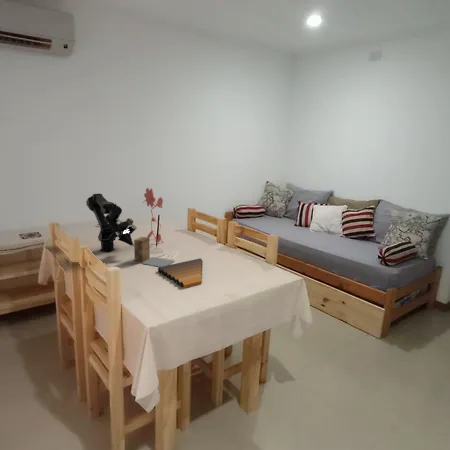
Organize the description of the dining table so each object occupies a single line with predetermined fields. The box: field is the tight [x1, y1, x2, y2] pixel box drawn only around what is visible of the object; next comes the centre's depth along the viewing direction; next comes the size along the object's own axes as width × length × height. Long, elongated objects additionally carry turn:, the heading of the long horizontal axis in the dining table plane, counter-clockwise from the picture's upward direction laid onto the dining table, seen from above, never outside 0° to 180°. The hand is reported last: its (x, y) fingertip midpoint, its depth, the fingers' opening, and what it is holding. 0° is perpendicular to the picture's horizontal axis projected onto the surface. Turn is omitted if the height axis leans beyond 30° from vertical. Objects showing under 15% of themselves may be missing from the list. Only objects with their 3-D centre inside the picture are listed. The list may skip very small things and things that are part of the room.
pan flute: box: [157, 257, 204, 289], centre depth 180 cm, size 25×3×25 cm
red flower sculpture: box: [142, 187, 164, 248], centre depth 225 cm, size 15×26×35 cm, turn 38°
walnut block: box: [133, 236, 151, 263], centre depth 196 cm, size 5×7×12 cm
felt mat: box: [140, 256, 175, 268], centre depth 194 cm, size 14×11×1 cm
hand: (132, 245), depth 197 cm, fingers closed
